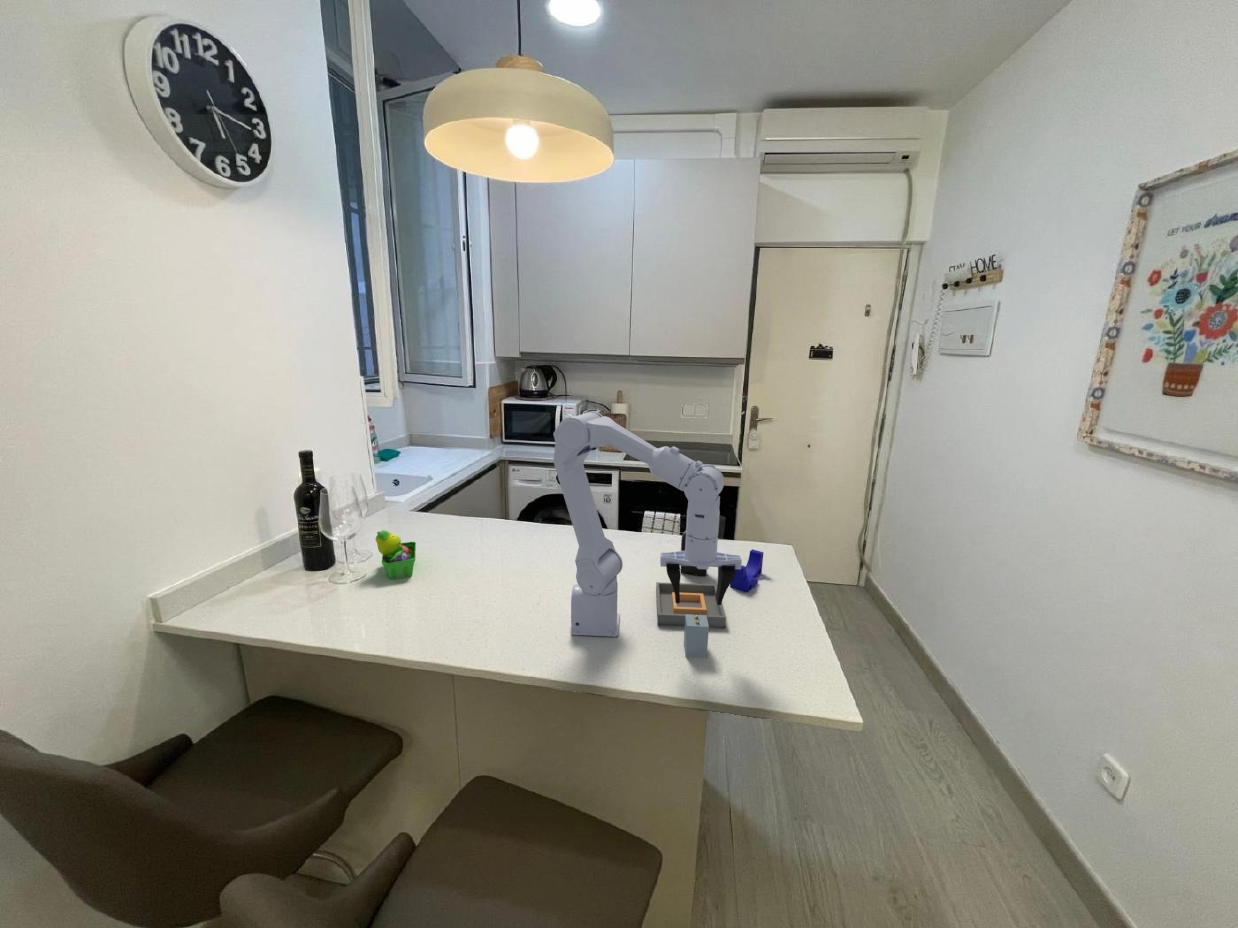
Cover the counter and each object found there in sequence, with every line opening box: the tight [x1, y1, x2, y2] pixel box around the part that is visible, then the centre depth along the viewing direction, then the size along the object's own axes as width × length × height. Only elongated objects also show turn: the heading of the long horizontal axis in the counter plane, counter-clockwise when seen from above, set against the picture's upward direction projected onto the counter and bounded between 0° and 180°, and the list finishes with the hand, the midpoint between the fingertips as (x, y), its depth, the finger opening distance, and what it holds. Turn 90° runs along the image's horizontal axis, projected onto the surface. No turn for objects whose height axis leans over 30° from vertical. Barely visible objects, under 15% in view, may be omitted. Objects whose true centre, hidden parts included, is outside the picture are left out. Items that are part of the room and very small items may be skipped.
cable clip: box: [729, 548, 764, 594], centre depth 122 cm, size 12×4×6 cm, turn 142°
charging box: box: [655, 581, 727, 629], centre depth 109 cm, size 14×14×2 cm
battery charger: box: [680, 530, 708, 577], centre depth 125 cm, size 7×4×11 cm, turn 73°
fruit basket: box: [375, 529, 417, 580], centre depth 124 cm, size 11×9×11 cm
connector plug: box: [683, 614, 710, 658], centre depth 94 cm, size 4×4×7 cm
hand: (697, 601), depth 92 cm, fingers open, 7 cm apart
